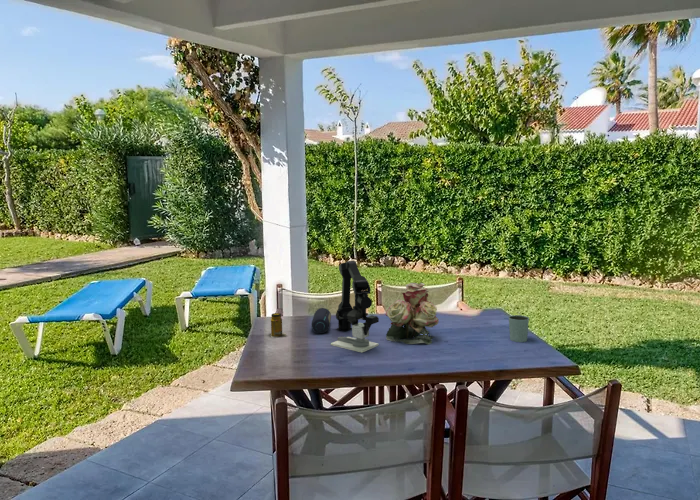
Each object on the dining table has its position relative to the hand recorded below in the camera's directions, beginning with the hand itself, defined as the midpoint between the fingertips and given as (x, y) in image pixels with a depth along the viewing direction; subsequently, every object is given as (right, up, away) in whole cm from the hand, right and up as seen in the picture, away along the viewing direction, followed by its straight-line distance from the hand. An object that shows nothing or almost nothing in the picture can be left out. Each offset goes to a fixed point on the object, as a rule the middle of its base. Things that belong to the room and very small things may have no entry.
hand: (360, 334), depth 271 cm
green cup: (+82, -5, +10) cm, 83 cm away
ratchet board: (-3, -6, +3) cm, 8 cm away
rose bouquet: (+29, -5, +15) cm, 33 cm away
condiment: (-44, -4, +22) cm, 50 cm away
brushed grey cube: (0, -1, 0) cm, 1 cm away
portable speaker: (-21, -3, +34) cm, 40 cm away
